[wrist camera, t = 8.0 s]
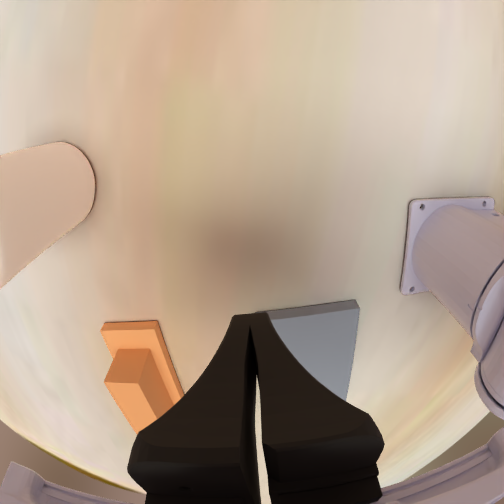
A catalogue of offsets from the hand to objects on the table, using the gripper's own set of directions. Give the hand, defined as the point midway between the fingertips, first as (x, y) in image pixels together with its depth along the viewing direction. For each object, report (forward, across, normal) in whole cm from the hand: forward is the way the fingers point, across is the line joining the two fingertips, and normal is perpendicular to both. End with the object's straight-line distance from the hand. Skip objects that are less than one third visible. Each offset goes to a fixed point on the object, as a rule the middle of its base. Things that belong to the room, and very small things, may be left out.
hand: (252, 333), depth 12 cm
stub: (+10, +10, +12) cm, 19 cm away
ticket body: (+10, -4, +12) cm, 16 cm away
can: (+10, +13, -6) cm, 18 cm away
